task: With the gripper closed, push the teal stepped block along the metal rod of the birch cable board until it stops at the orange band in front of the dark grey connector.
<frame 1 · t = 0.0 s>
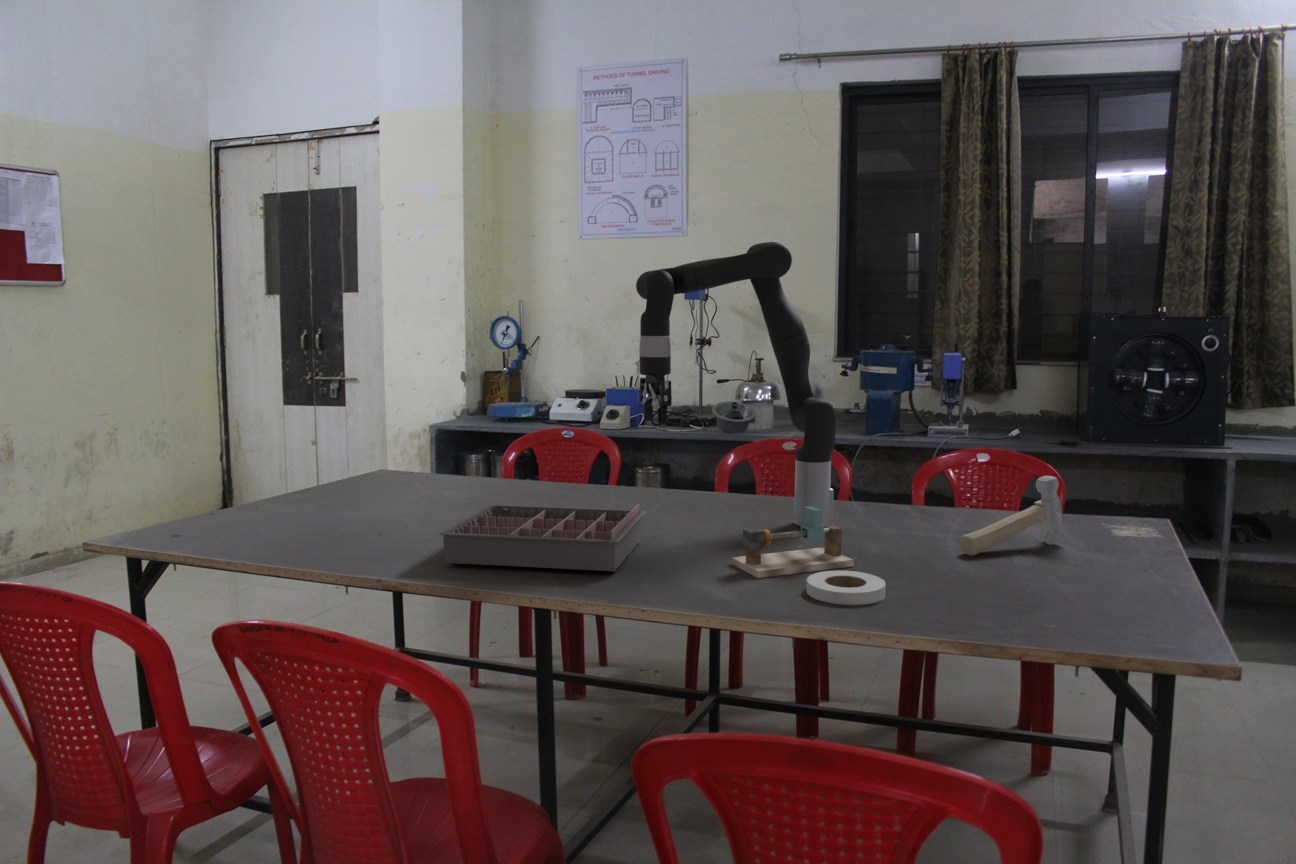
hand: (655, 422, 226), 29 cm above the table, fingers open, 8 cm apart
teal stepped block: (812, 523, 208), point 9 cm above the table, slide at 0.0 cm
cable board: (792, 565, 207), on the table
organizer tray: (548, 556, 217), on the table
hammer: (1011, 549, 222), on the table
roll of tape: (845, 595, 186), on the table
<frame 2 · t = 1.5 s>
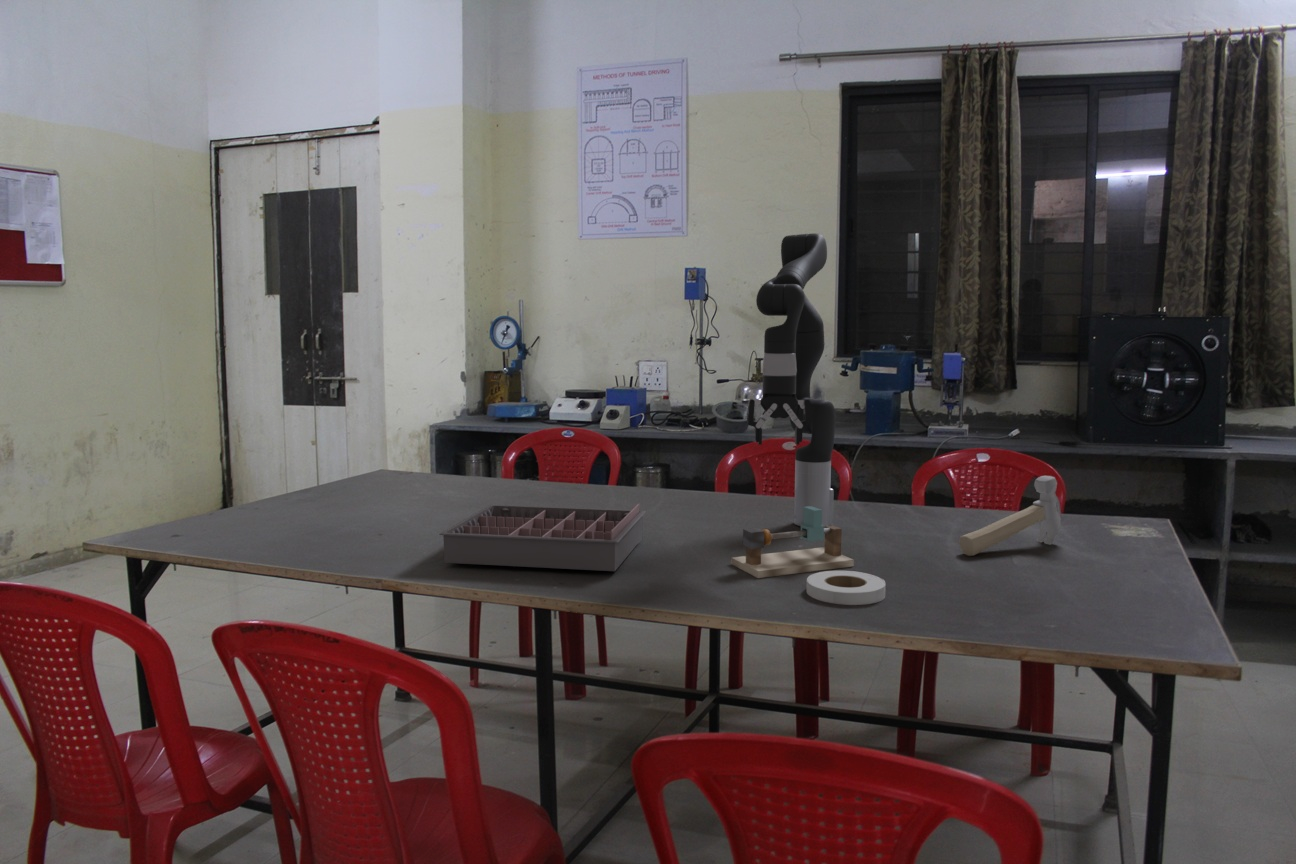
hand: (778, 444, 214), 26 cm above the table, fingers open, 8 cm apart
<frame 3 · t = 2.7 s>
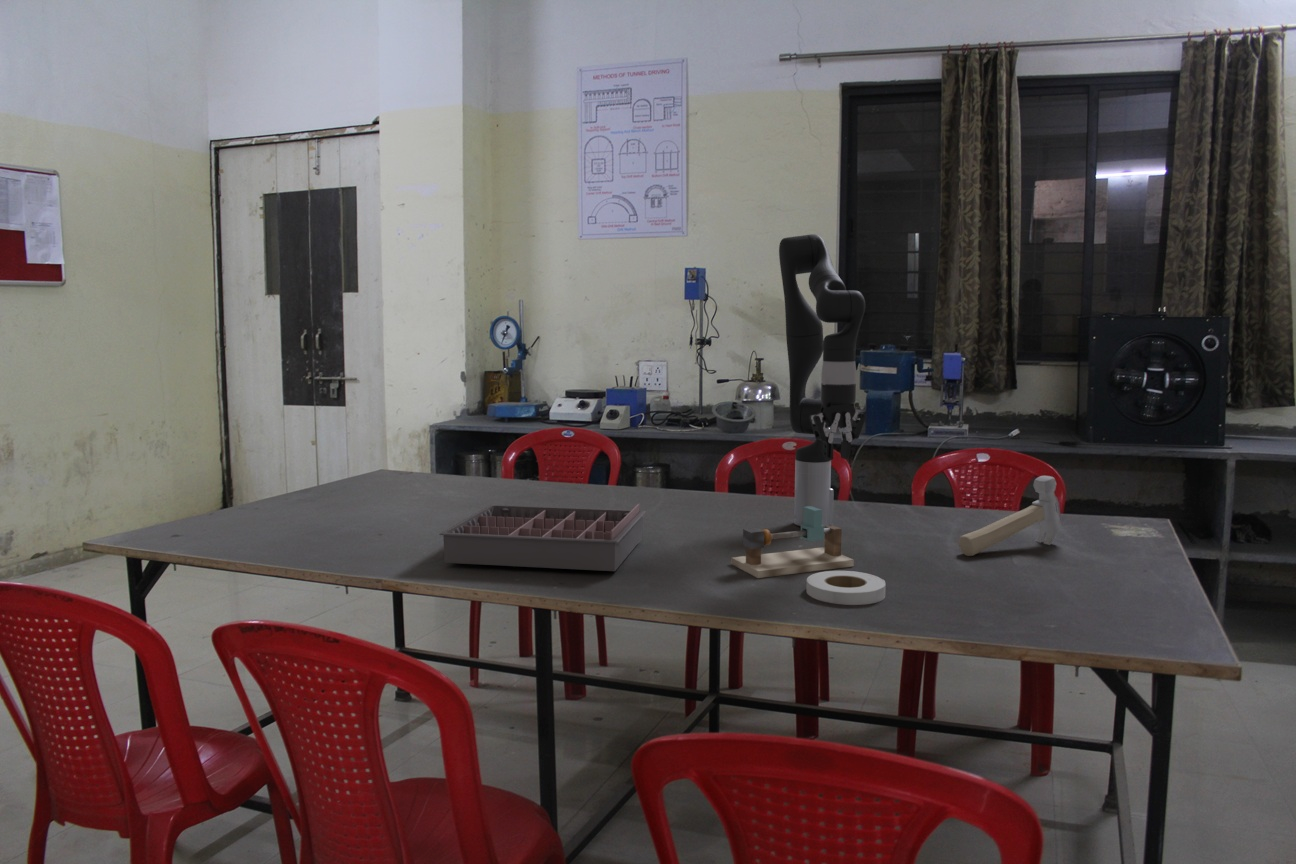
hand: (836, 458, 208), 23 cm above the table, fingers open, 3 cm apart
nothing on the table moved.
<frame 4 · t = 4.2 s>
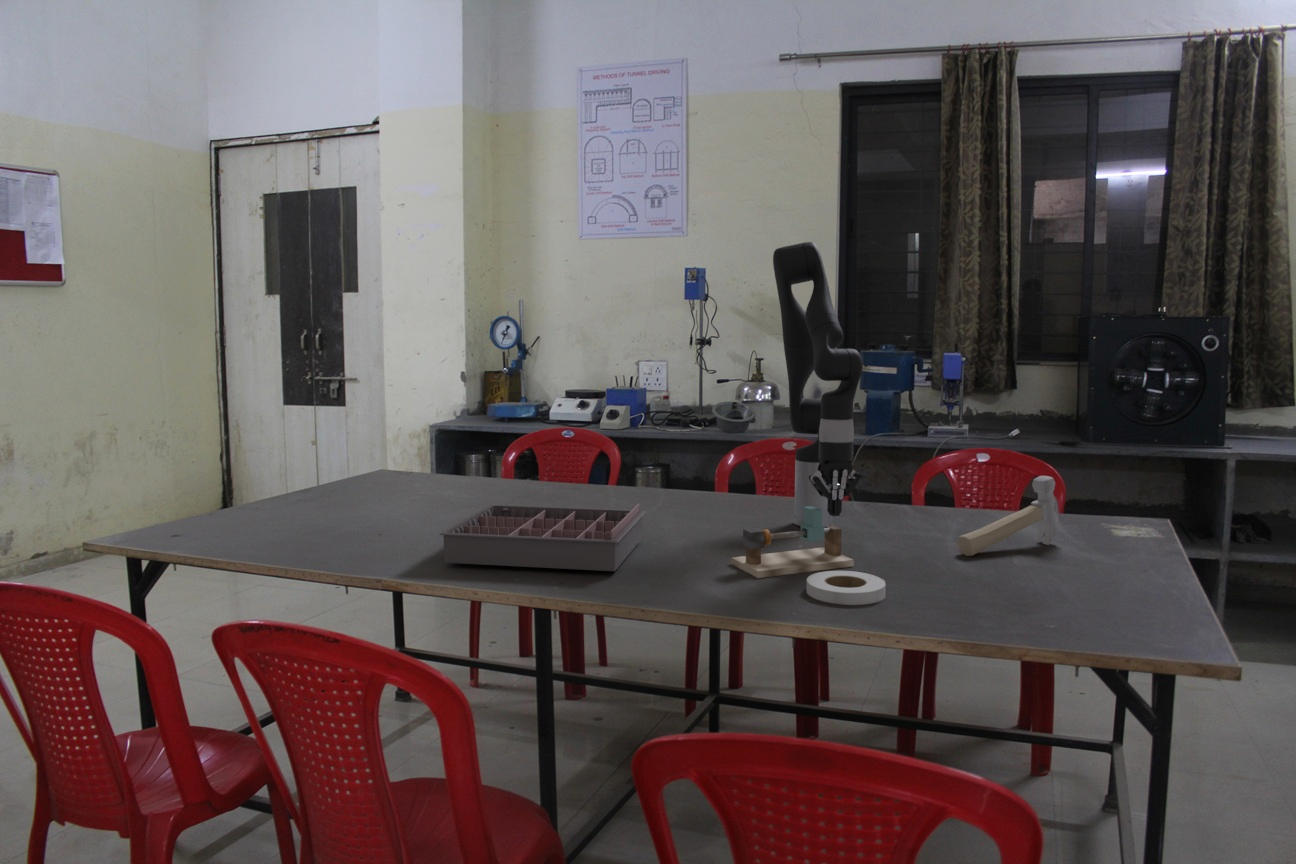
hand: (834, 515, 210), 10 cm above the table, fingers closed
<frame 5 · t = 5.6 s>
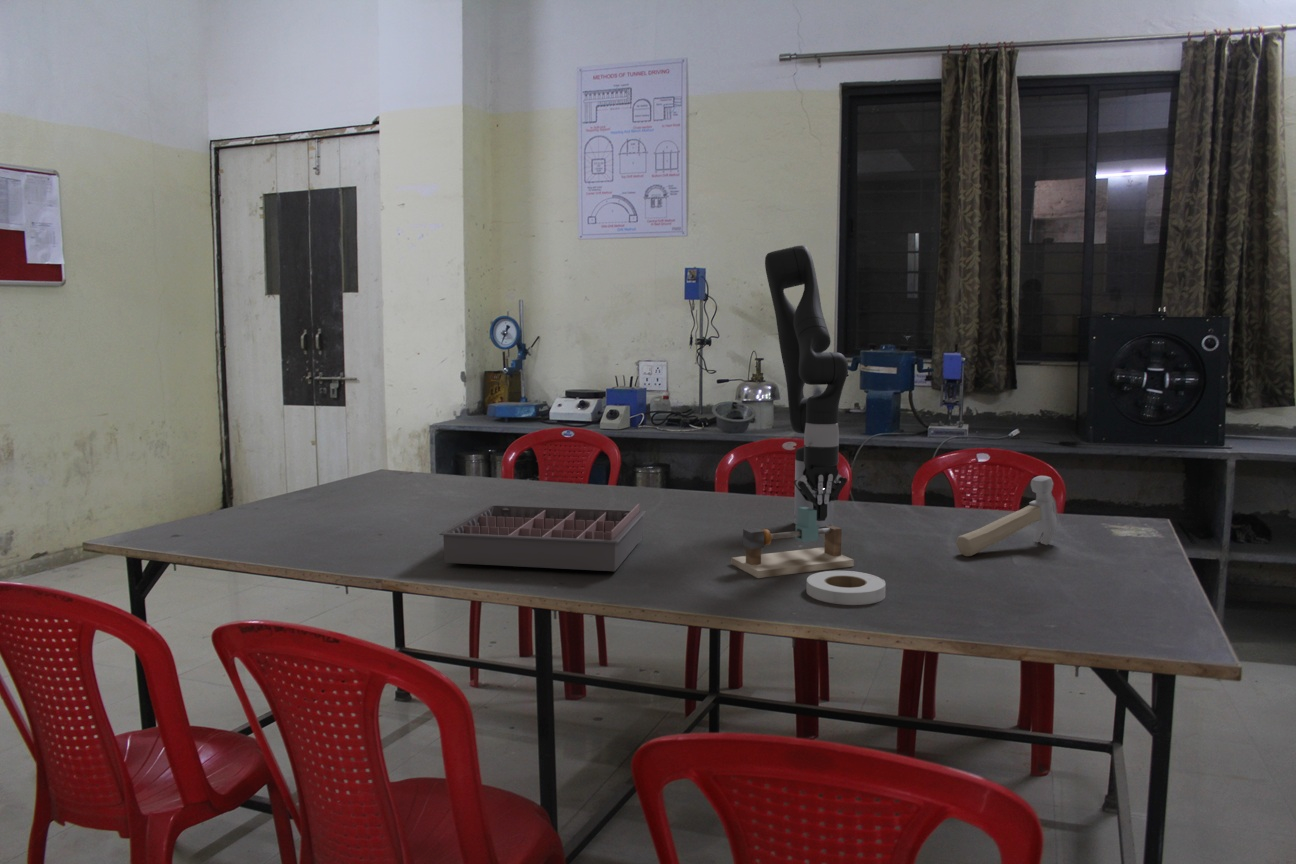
hand: (819, 520, 208), 10 cm above the table, fingers closed
teal stepped block: (807, 524, 207), point 9 cm above the table, slide at 1.4 cm, touching gripper
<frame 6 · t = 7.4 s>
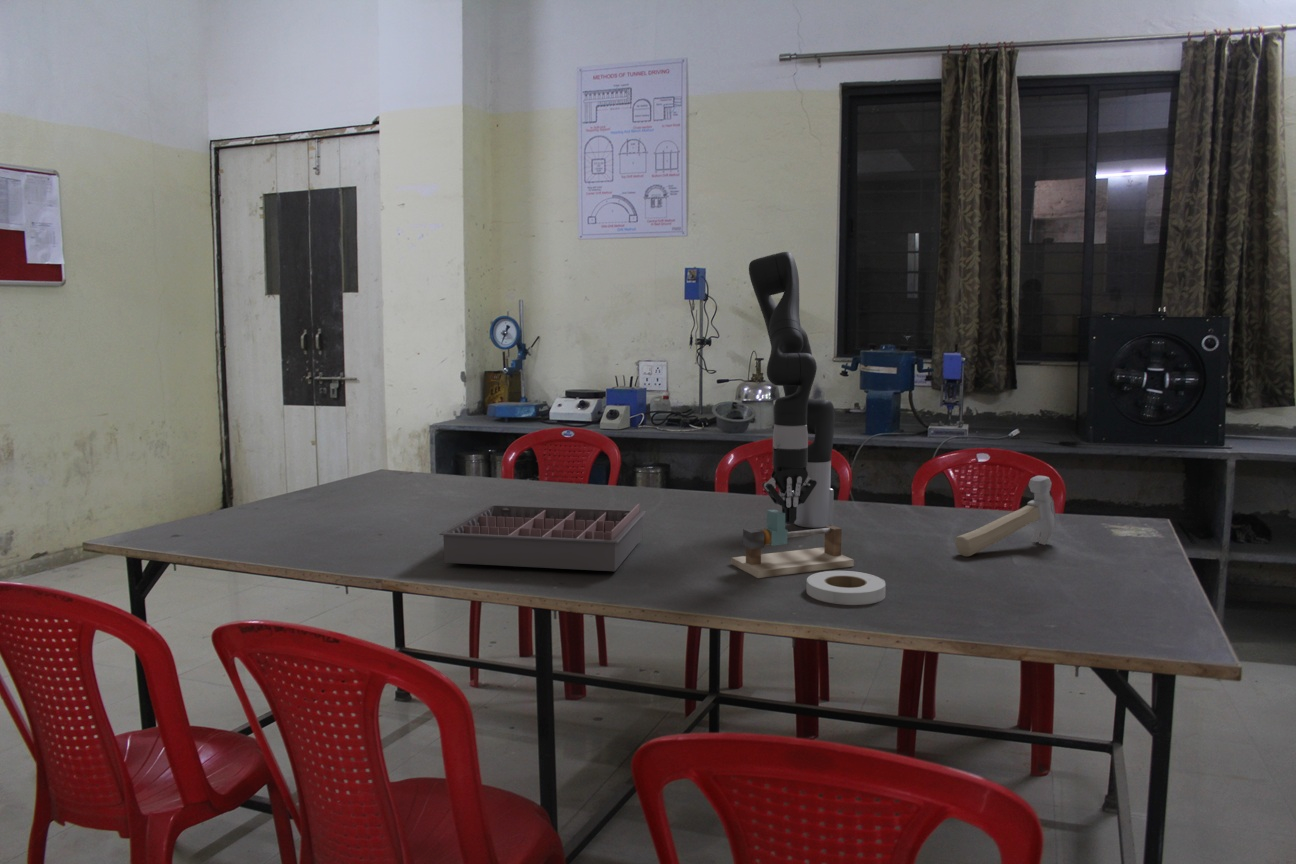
hand: (788, 523, 205), 10 cm above the table, fingers closed
teal stepped block: (775, 527, 204), point 9 cm above the table, slide at 9.3 cm, touching gripper
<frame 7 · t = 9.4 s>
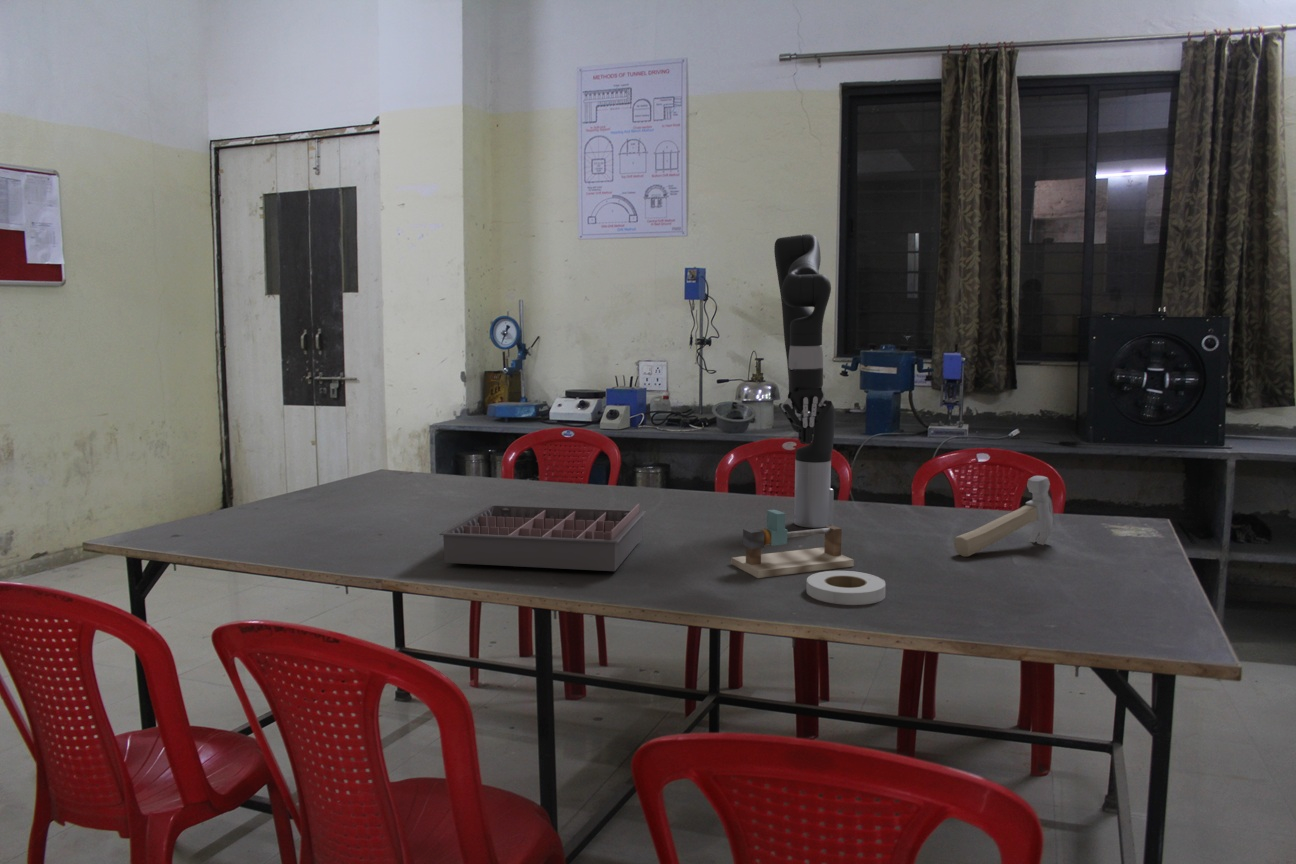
hand: (805, 443, 209), 26 cm above the table, fingers closed
teal stepped block: (775, 527, 204), point 9 cm above the table, slide at 9.3 cm
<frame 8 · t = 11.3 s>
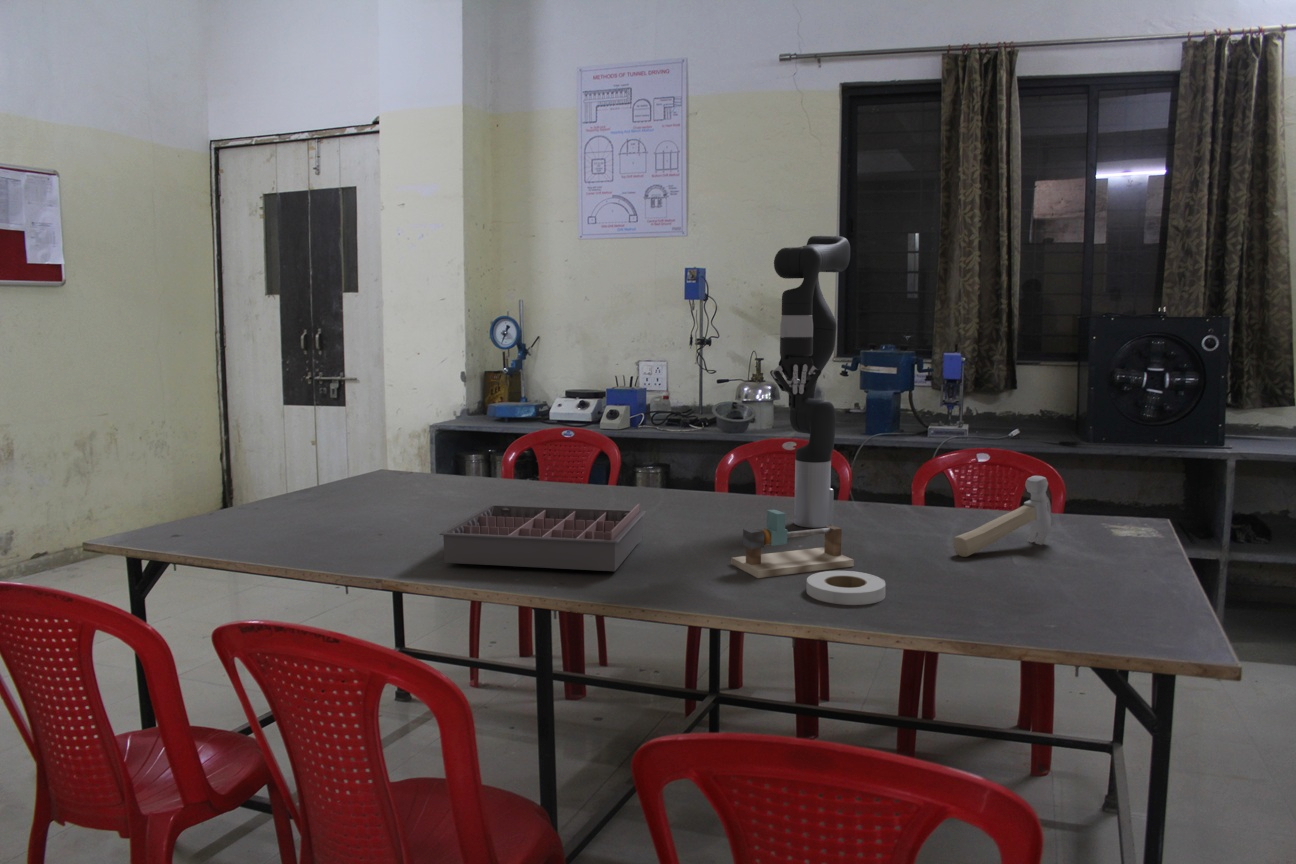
hand: (795, 409, 218), 33 cm above the table, fingers closed
at the end: teal stepped block slide at 9.3 cm; the gripper is holding nothing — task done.
